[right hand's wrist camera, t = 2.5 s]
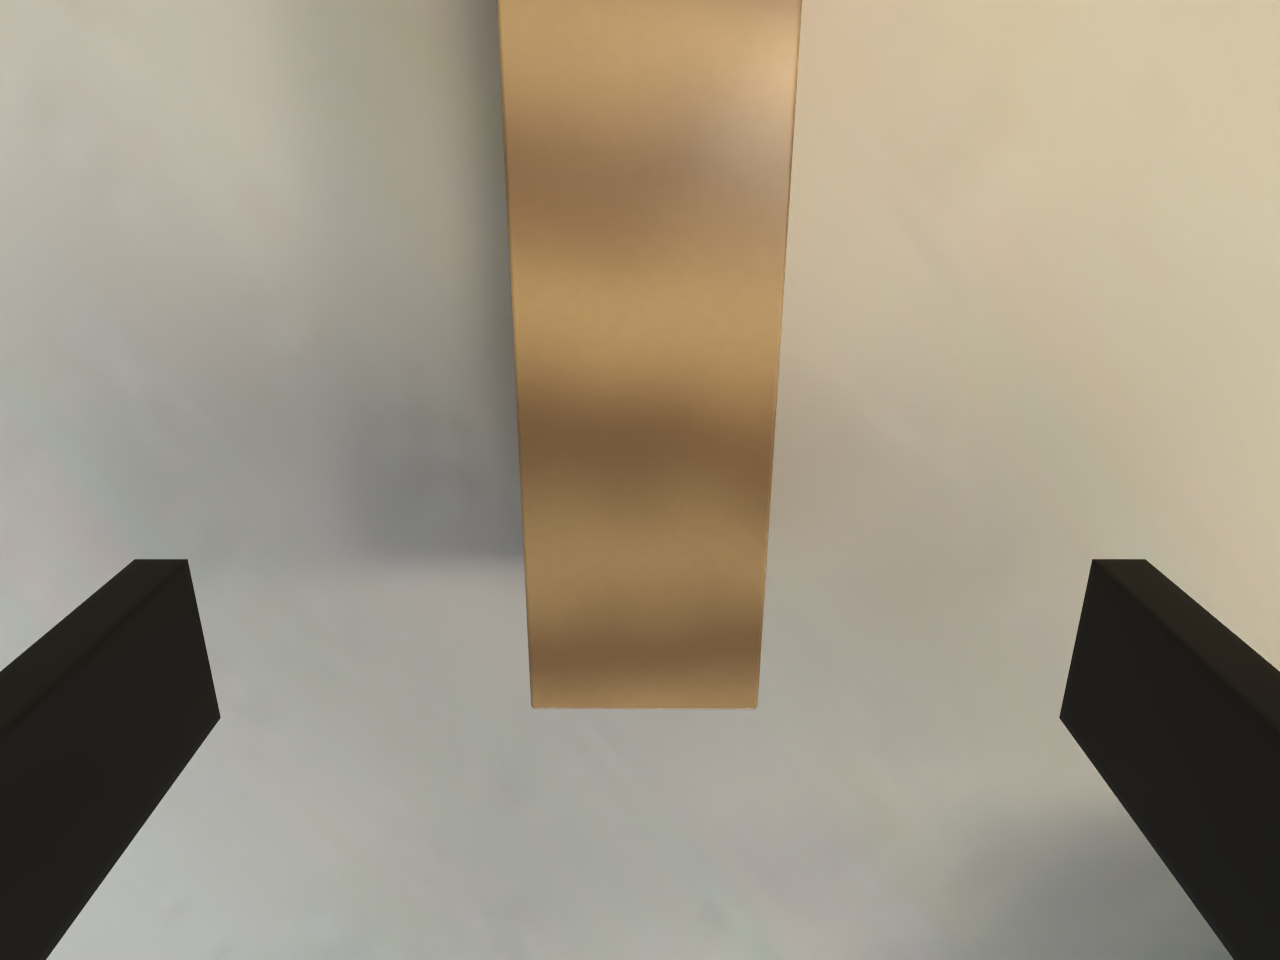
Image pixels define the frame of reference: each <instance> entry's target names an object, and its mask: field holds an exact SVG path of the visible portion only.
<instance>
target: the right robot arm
mask: <svg viewBox="0 0 1280 960" xmlns="http://www.w3.org/2000/svg"><path fill="white" fill-rule="evenodd" d="M220 718H221V717H220V713H219V708H218V703H217V698H216V693H215V689H214V684H213V679H212V674H211V670H210V665H209V660H208V655H207V650H206V646H205V641H204V636H203V631H202V626H201V622H200V617H199V612H198V607H197V602H196V598H195V593H194V588H193V583H192V578H191V574H190V569H189V564H188V559H135V560H133V561H132V562H131V563H130V564H129V565H127V566H126V567H125V568H124V569H123V570H121V571H120V572H119V573H118V574H117V575H115V576H114V577H113V578H112V579H111V580H109V581H108V582H107V583H106V584H105V585H104V586H102V587H101V588H100V589H99V590H98V591H96V592H95V593H94V594H93V595H92V596H90V597H89V598H88V599H87V600H86V601H84V602H83V603H82V604H81V605H80V606H78V607H77V608H76V609H75V610H74V611H72V612H71V613H70V614H69V615H68V616H66V617H65V618H64V619H63V620H62V621H60V622H59V623H58V624H57V625H56V626H54V627H53V628H52V629H51V630H50V631H49V632H47V633H46V634H45V635H44V636H43V637H41V638H40V639H39V640H38V641H37V642H35V643H34V644H33V645H32V646H31V647H29V648H28V649H27V650H26V651H25V652H23V653H22V654H21V655H20V656H19V657H17V658H16V659H15V660H14V661H13V662H11V663H10V664H9V665H8V666H7V667H5V668H4V669H3V670H2V671H1V672H0V960H46V959H47V957H48V956H49V955H50V953H51V952H52V951H53V949H54V948H55V946H56V945H57V944H58V942H59V941H60V939H61V938H62V937H63V935H64V934H65V932H66V931H67V930H68V928H69V927H70V926H71V924H72V923H73V921H74V920H75V919H76V917H77V916H78V914H79V913H80V912H81V910H82V909H83V908H84V906H85V905H86V903H87V902H88V901H89V899H90V898H91V896H92V895H93V894H94V892H95V891H96V890H97V888H98V887H99V885H100V884H101V883H102V881H103V880H104V878H105V877H106V876H107V874H108V873H109V872H110V870H111V869H112V867H113V866H114V865H115V863H116V862H117V860H118V859H119V858H120V856H121V855H122V854H123V852H124V851H125V849H126V848H127V847H128V845H129V844H130V842H131V841H132V840H133V838H134V837H135V836H136V834H137V833H138V831H139V830H140V829H141V827H142V826H143V824H144V823H145V822H146V820H147V819H148V818H149V816H150V815H151V813H152V812H153V811H154V809H155V808H156V806H157V805H158V804H159V802H160V801H161V800H162V798H163V797H164V795H165V794H166V793H167V791H168V790H169V788H170V787H171V786H172V784H173V783H174V782H175V780H176V779H177V777H178V776H179V775H180V773H181V772H182V770H183V769H184V768H185V766H186V765H187V764H188V762H189V761H190V759H191V758H192V757H193V755H194V754H195V752H196V751H197V750H198V748H199V747H200V746H201V744H202V743H203V741H204V740H205V739H206V737H207V736H208V734H209V733H210V732H211V730H212V729H213V728H214V726H215V725H216V723H217V722H218V721H219V719H220ZM1059 718H1060V719H1061V721H1062V722H1063V723H1064V725H1065V726H1066V728H1067V729H1068V730H1069V732H1070V733H1071V734H1072V736H1073V737H1074V739H1075V740H1076V741H1077V743H1078V744H1079V746H1080V747H1081V748H1082V750H1083V751H1084V752H1085V754H1086V755H1087V757H1088V758H1089V759H1090V761H1091V762H1092V764H1093V765H1094V766H1095V768H1096V769H1097V770H1098V772H1099V773H1100V775H1101V776H1102V777H1103V779H1104V780H1105V782H1106V783H1107V784H1108V786H1109V787H1110V788H1111V790H1112V791H1113V793H1114V794H1115V795H1116V797H1117V798H1118V800H1119V801H1120V802H1121V804H1122V805H1123V806H1124V808H1125V809H1126V811H1127V812H1128V813H1129V815H1130V816H1131V818H1132V819H1133V820H1134V822H1135V823H1136V824H1137V826H1138V827H1139V829H1140V830H1141V831H1142V833H1143V834H1144V836H1145V837H1146V838H1147V840H1148V841H1149V842H1150V844H1151V845H1152V847H1153V848H1154V849H1155V851H1156V852H1157V854H1158V855H1159V856H1160V858H1161V859H1162V860H1163V862H1164V863H1165V865H1166V866H1167V867H1168V869H1169V870H1170V872H1171V873H1172V874H1173V876H1174V877H1175V878H1176V880H1177V881H1178V883H1179V884H1180V885H1181V887H1182V888H1183V890H1184V891H1185V892H1186V894H1187V895H1188V896H1189V898H1190V899H1191V901H1192V902H1193V903H1194V905H1195V906H1196V908H1197V909H1198V910H1199V912H1200V913H1201V914H1202V916H1203V917H1204V919H1205V920H1206V921H1207V923H1208V924H1209V926H1210V927H1211V928H1212V930H1213V931H1214V933H1215V934H1216V935H1217V937H1218V938H1219V939H1220V941H1221V942H1222V944H1223V945H1224V946H1225V948H1226V949H1227V951H1228V952H1229V953H1230V955H1231V956H1232V957H1233V959H1234V960H1280V672H1279V671H1278V670H1277V669H1276V668H1275V667H1273V666H1272V665H1271V664H1270V663H1269V662H1267V661H1266V660H1265V659H1264V658H1263V657H1261V656H1260V655H1259V654H1258V653H1257V652H1255V651H1254V650H1253V649H1252V648H1251V647H1249V646H1248V645H1247V644H1246V643H1245V642H1243V641H1242V640H1241V639H1240V638H1239V637H1237V636H1236V635H1235V634H1234V633H1233V632H1231V631H1230V630H1229V629H1228V628H1227V627H1226V626H1224V625H1223V624H1222V623H1221V622H1220V621H1218V620H1217V619H1216V618H1215V617H1214V616H1212V615H1211V614H1210V613H1209V612H1208V611H1206V610H1205V609H1204V608H1203V607H1202V606H1200V605H1199V604H1198V603H1197V602H1196V601H1194V600H1193V599H1192V598H1191V597H1190V596H1188V595H1187V594H1186V593H1185V592H1184V591H1182V590H1181V589H1180V588H1179V587H1178V586H1176V585H1175V584H1174V583H1173V582H1172V581H1171V580H1169V579H1168V578H1167V577H1166V576H1165V575H1163V574H1162V573H1161V572H1160V571H1159V570H1157V569H1156V568H1155V567H1154V566H1153V565H1151V564H1150V563H1149V562H1148V561H1147V560H1145V559H1092V564H1091V569H1090V574H1089V578H1088V583H1087V588H1086V593H1085V598H1084V602H1083V607H1082V612H1081V617H1080V622H1079V626H1078V631H1077V636H1076V641H1075V646H1074V650H1073V655H1072V660H1071V665H1070V669H1069V674H1068V679H1067V684H1066V689H1065V693H1064V698H1063V703H1062V708H1061V713H1060V717H1059Z"/></svg>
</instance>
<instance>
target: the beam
mask: <svg viewBox="0 0 1280 960" xmlns="http://www.w3.org/2000/svg"><path fill="white" fill-rule="evenodd" d="M801 8H802V0H497V11H498V32H499V53H500V73H501V94H502V114H503V135H504V156H505V176H506V197H507V217H508V238H509V258H510V279H511V300H512V320H513V341H514V361H515V382H516V403H517V423H518V444H519V464H520V485H521V505H522V526H523V547H524V567H525V588H526V608H527V629H528V649H529V670H530V691H531V706H532V708H547V709H756V708H757V704H758V689H759V673H760V657H761V641H762V625H763V609H764V594H765V578H766V562H767V546H768V530H769V514H770V499H771V483H772V467H773V451H774V435H775V419H776V404H777V388H778V372H779V356H780V340H781V324H782V309H783V293H784V277H785V261H786V245H787V229H788V214H789V198H790V182H791V166H792V150H793V134H794V119H795V103H796V87H797V71H798V55H799V39H800V24H801Z"/></svg>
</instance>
